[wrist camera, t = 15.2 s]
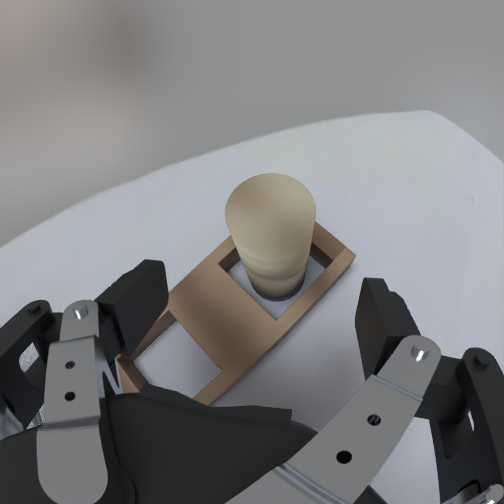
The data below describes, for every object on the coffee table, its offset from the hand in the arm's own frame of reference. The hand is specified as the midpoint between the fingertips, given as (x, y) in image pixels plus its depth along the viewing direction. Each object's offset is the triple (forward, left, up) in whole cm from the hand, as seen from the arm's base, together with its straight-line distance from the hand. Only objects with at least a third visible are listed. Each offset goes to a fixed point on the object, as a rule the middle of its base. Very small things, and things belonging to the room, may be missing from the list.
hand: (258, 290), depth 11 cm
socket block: (+2, -3, -11) cm, 12 cm away
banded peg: (-3, -3, -11) cm, 12 cm away
